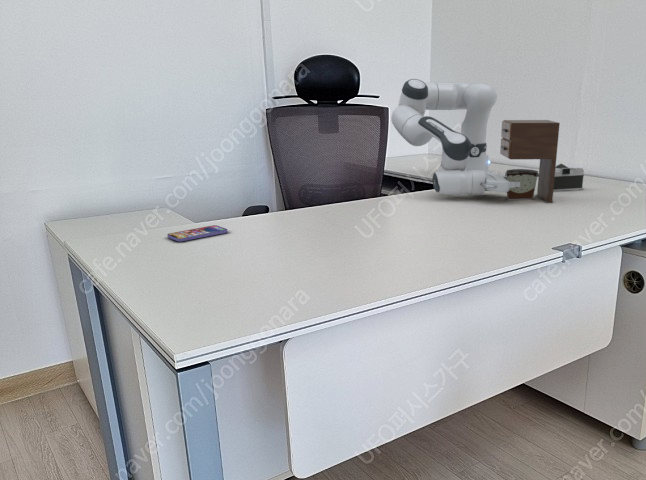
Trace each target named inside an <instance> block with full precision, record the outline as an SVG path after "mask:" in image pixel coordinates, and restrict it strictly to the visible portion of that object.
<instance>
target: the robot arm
mask: <svg viewBox="0 0 646 480" xmlns="http://www.w3.org/2000/svg"><path fill="white" fill-rule="evenodd" d="M497 97H498V95H497V91H496V89H495V88H494V87H493V86H492V85H489V84H487V83H485V82H443V81H442V82H439V81H437V82H436V81H428V82H424V81H423V80H421V79H417V78H410V79H408V80H406V81H405V82H404V83H403V85H402V88H401V93H400V96H399V100H398V106H397V107H396V108H394V110H393V111H392V113H391V118H390V119H391V121H390V122H391V124H392V125H393V127H394V129H395V130H396V131H397V133H398V134H399V135H400V136H401V137H402V139H404V140H405V142H407V143H408V144H409V145H411V146H414V147H422V146H424V145H427V144H428V143H429V142H430V141H431V140H432V139H433V138H434V139H436V140H437V141H439V143H440V144H441V150H442V151H441V160H440V164H439V167H438V168H437V170H436V171H435V172H433V173H432V186H433V189H434V191H435V192H436V193H437V194H440V195H446V196H459V195H460V196H461V195H468V196H482V195H483V196H484V194H485V192H494V193H495V192H496V193H507V192H508V191H509V189H510V188H514V187H520V182H519V181H515V182H509V181H508V180H507V179H506V177H505V175H501V174H500V173H498V172H493V171H490V164H491V161H490V156H489V154H488V153H487V148H488V146H487V126H488V121H489V117H490V114H491V111H492V108H493V107H494V106H495V104H496V102H497V99H498V98H497ZM456 110H466V111H465V112H466V113H465V116H464V119H463V121H462V123H460V132H459V131H456V130H453V129H452V128H451V127H449V126H448V125H447V124H444V123H443V122H442V121H439V120H438V119H437V118H435V117H432V116H428V115H426V116H425V114H426V111H456Z"/></svg>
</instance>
